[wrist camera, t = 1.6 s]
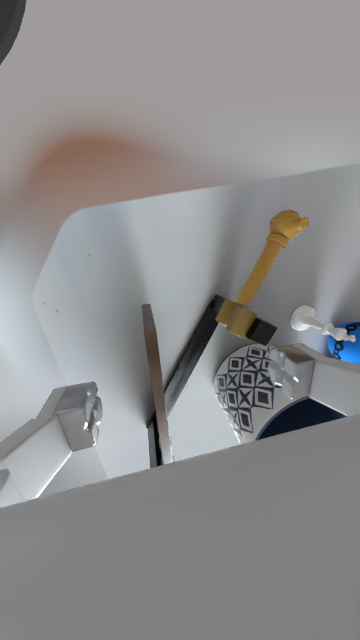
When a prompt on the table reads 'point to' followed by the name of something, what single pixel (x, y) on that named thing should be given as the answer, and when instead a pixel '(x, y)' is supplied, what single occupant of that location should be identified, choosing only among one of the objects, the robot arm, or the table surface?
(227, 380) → the planter
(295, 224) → the bolt
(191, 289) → the table surface
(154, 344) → the gate
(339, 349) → the ornament
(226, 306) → the gate frame
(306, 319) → the chess piece
